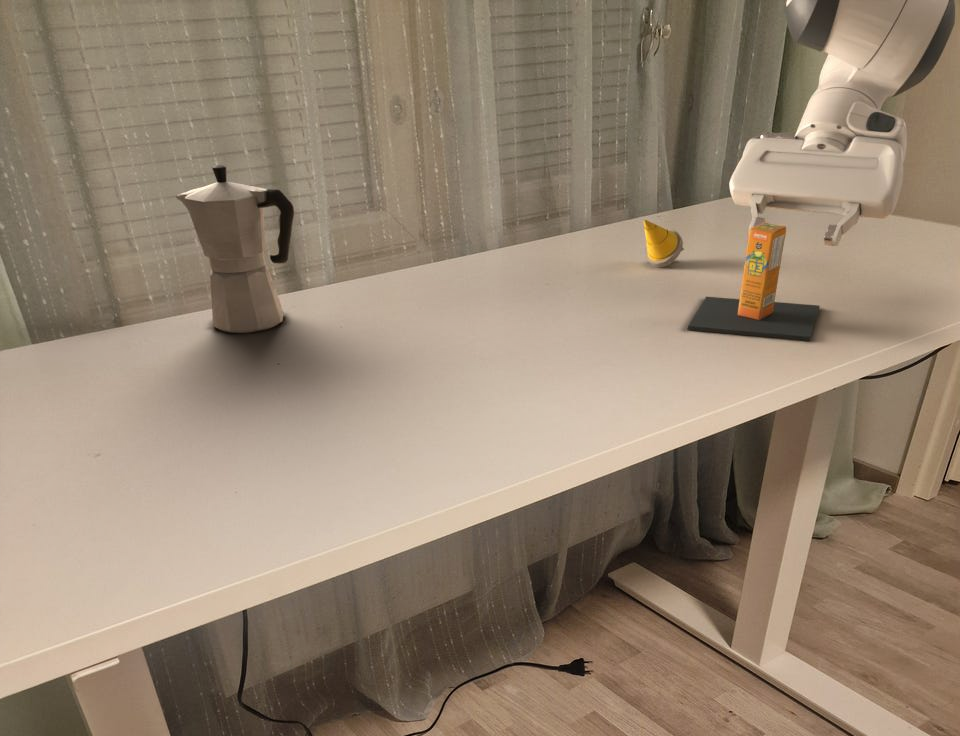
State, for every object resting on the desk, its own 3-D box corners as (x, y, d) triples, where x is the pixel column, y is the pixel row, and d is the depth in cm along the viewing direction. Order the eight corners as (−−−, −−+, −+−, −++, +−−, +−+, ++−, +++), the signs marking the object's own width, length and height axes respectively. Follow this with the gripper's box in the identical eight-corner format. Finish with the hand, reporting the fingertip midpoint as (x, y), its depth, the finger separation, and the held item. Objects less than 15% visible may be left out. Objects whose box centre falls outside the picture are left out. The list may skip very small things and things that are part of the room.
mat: (818, 309, 107) (819, 305, 107) (809, 341, 98) (810, 336, 98) (705, 300, 111) (706, 296, 111) (687, 330, 103) (687, 325, 102)
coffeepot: (184, 329, 109) (146, 171, 98) (223, 307, 116) (192, 156, 105) (293, 338, 105) (266, 173, 94) (327, 314, 112) (305, 158, 101)
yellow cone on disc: (691, 270, 124) (662, 228, 116) (656, 283, 127) (626, 243, 119) (690, 239, 125) (661, 195, 118) (656, 253, 128) (626, 211, 121)
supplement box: (734, 316, 105) (747, 227, 98) (750, 309, 106) (763, 221, 100) (758, 321, 103) (773, 231, 97) (774, 314, 105) (789, 225, 98)
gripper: (748, 114, 108) (707, 214, 108) (920, 121, 99) (875, 231, 99) (755, 148, 114) (716, 244, 114) (918, 158, 104) (876, 263, 104)
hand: (791, 238), depth 106 cm, fingers open, 8 cm apart
